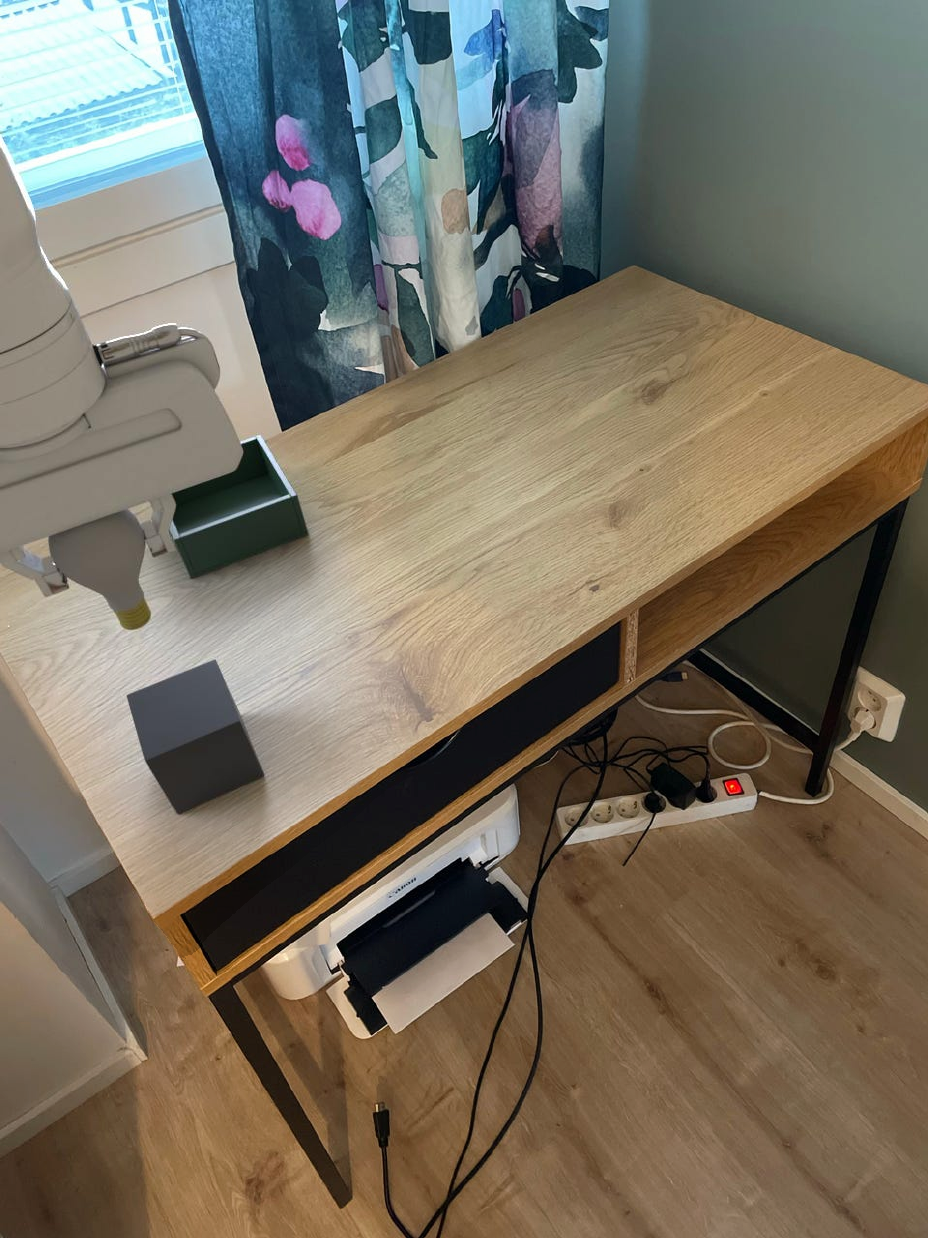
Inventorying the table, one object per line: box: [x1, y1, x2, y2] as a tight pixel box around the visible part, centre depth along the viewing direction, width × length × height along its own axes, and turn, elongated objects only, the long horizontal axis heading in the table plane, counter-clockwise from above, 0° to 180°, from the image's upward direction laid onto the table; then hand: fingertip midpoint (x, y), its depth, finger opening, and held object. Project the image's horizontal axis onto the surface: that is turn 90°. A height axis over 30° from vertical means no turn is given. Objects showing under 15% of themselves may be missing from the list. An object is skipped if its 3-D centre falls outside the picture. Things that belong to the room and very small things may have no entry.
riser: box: [126, 659, 265, 815], centre depth 68 cm, size 7×7×7 cm
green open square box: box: [169, 434, 309, 580], centre depth 90 cm, size 12×12×5 cm
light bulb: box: [47, 508, 152, 631], centre depth 56 cm, size 5×6×10 cm
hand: (109, 568), depth 56 cm, fingers closed on light bulb, 5 cm apart
